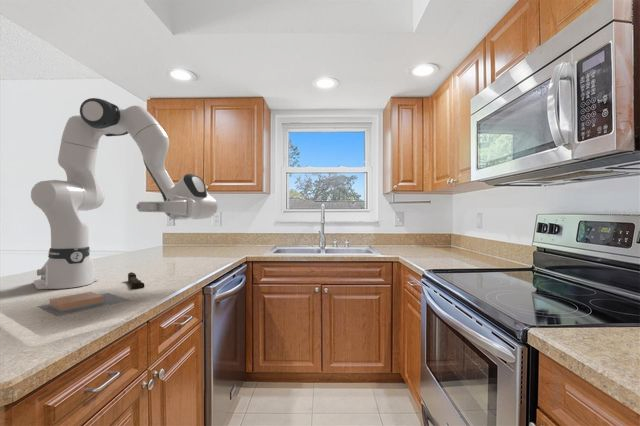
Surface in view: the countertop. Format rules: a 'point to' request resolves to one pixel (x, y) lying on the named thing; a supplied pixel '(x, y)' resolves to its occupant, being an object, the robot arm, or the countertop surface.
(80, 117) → the robot arm
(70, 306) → the tile
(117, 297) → the board
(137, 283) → the hand tool
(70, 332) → the countertop surface
